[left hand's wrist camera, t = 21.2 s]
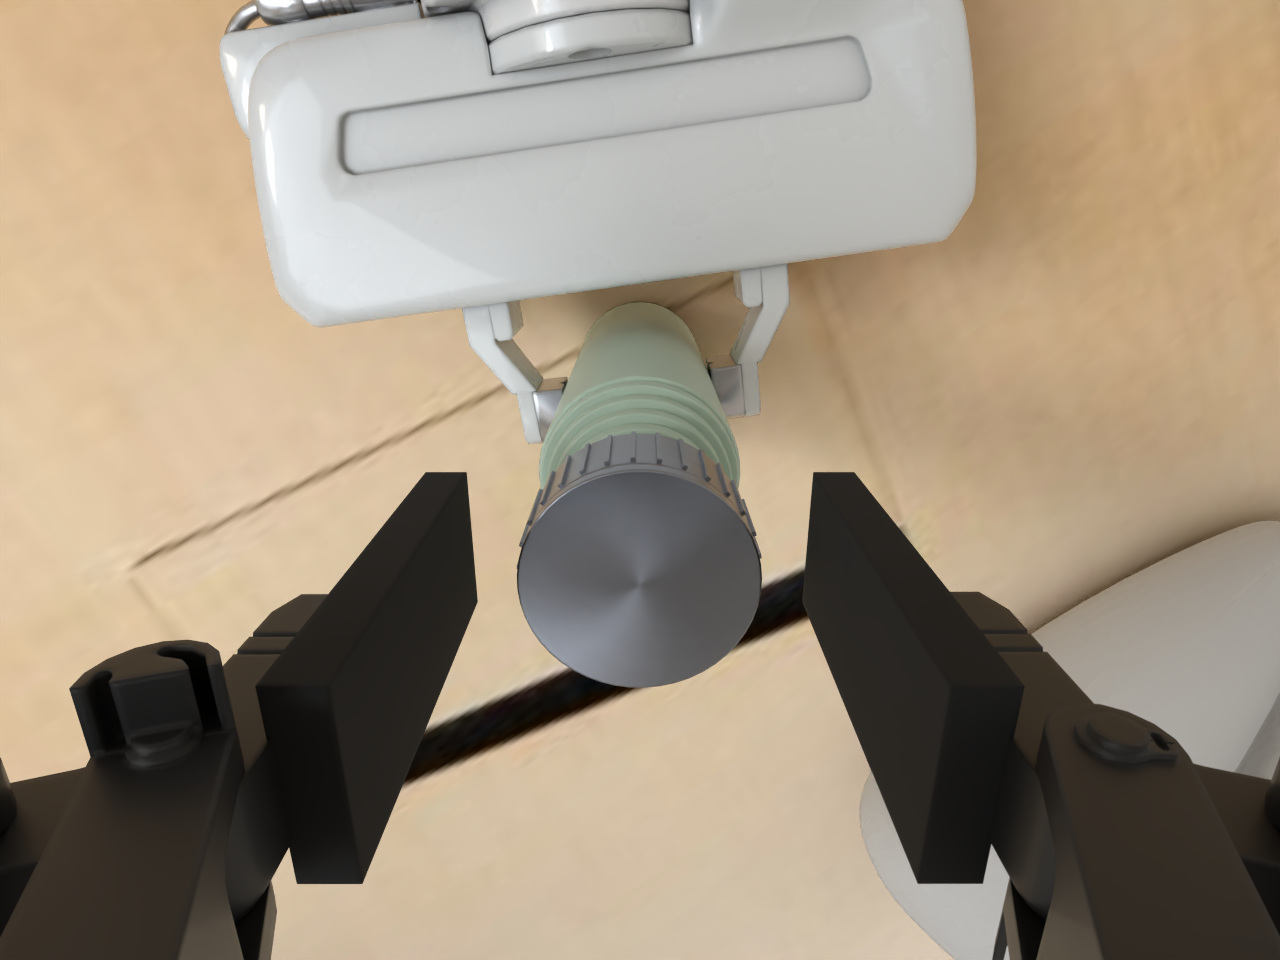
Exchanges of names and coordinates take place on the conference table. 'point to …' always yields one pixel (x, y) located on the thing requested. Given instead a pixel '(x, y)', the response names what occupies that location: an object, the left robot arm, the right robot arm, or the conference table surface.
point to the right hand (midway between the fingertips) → (644, 425)
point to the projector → (1137, 697)
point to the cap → (639, 562)
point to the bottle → (639, 389)
